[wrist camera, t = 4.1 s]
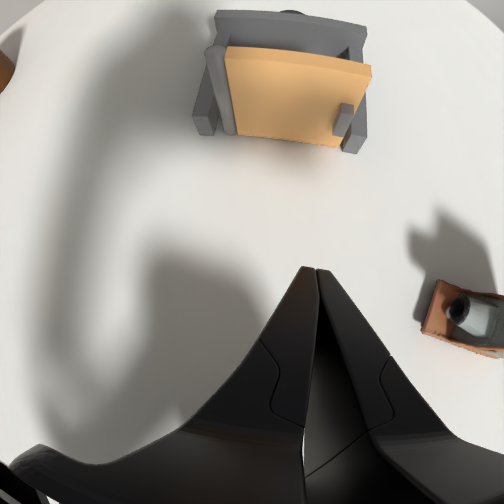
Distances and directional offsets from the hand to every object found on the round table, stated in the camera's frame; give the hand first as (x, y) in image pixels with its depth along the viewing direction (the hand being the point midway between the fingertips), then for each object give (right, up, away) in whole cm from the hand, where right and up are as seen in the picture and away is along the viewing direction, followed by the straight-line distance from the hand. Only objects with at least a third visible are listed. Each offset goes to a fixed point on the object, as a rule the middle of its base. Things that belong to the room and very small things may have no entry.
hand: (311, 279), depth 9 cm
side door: (+1, +10, +14) cm, 17 cm away
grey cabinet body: (+1, +15, +15) cm, 22 cm away
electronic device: (+16, -5, +12) cm, 21 cm away
